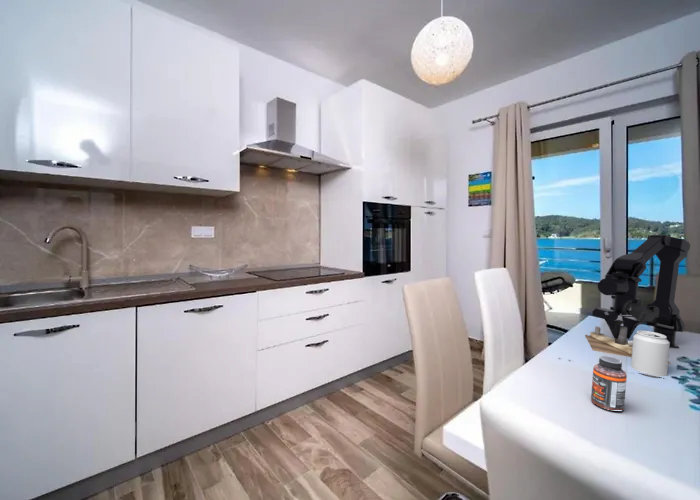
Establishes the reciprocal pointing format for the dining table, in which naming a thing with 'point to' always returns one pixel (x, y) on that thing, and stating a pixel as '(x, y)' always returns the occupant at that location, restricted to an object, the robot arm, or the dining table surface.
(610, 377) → the supplement bottle
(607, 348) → the keeper board
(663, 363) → the can
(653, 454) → the dining table surface
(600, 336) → the lever
